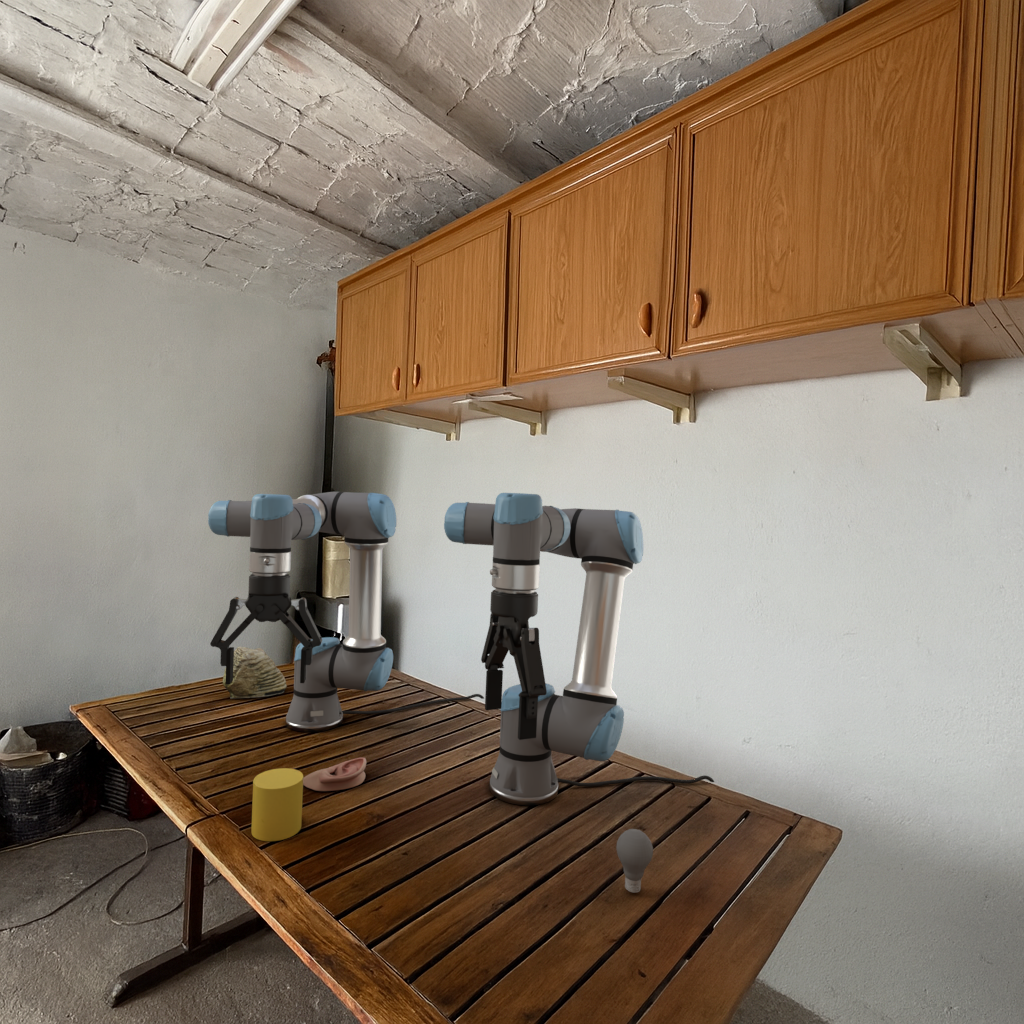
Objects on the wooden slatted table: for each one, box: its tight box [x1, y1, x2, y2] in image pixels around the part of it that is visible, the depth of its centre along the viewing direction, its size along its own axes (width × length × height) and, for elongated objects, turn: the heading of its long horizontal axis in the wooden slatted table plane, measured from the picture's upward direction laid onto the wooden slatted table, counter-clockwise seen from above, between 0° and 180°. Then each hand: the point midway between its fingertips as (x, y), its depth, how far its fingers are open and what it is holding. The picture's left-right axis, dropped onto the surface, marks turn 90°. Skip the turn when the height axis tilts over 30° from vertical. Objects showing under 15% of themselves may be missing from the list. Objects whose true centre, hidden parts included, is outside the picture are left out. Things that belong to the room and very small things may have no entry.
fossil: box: [222, 646, 288, 699], centre depth 198 cm, size 9×18×15 cm, turn 132°
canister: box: [250, 767, 304, 842], centre depth 120 cm, size 9×9×10 cm
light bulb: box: [615, 828, 654, 894], centre depth 106 cm, size 6×6×10 cm
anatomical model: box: [303, 756, 367, 792], centre depth 141 cm, size 13×4×12 cm
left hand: (266, 682), depth 123 cm, fingers open, 13 cm apart
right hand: (508, 722), depth 101 cm, fingers open, 13 cm apart
